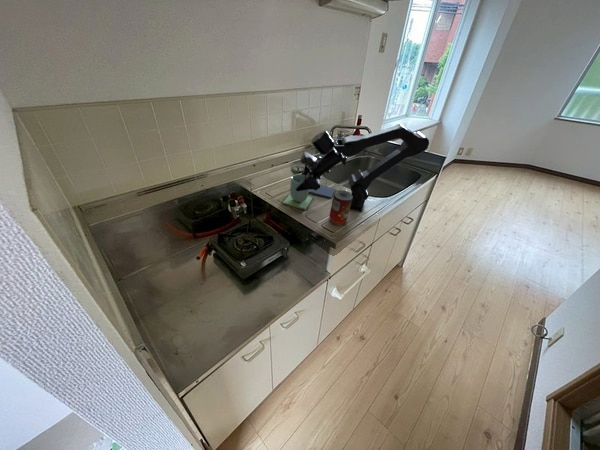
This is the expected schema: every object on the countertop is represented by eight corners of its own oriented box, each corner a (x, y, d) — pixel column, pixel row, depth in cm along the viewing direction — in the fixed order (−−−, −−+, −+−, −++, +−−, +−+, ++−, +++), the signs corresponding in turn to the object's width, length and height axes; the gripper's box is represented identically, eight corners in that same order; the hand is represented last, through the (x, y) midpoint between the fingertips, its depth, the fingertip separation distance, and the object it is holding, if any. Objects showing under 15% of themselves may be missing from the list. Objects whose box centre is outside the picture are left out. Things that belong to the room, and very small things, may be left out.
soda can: (340, 228, 91) (347, 200, 84) (325, 220, 94) (330, 192, 87) (349, 220, 95) (356, 193, 88) (334, 213, 99) (340, 186, 91)
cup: (293, 205, 99) (295, 183, 93) (287, 196, 104) (288, 175, 98) (310, 202, 102) (313, 181, 96) (303, 193, 107) (305, 173, 101)
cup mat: (312, 199, 106) (312, 197, 106) (305, 210, 99) (305, 208, 98) (291, 193, 108) (291, 191, 108) (282, 203, 101) (282, 202, 100)
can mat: (335, 190, 115) (335, 188, 115) (330, 198, 108) (331, 197, 108) (313, 184, 117) (313, 183, 117) (308, 192, 111) (308, 191, 110)
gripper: (313, 138, 97) (285, 162, 103) (314, 155, 82) (281, 182, 88) (330, 159, 101) (301, 180, 108) (333, 178, 87) (300, 202, 93)
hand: (296, 185), depth 99 cm, fingers closed on cup, 8 cm apart
